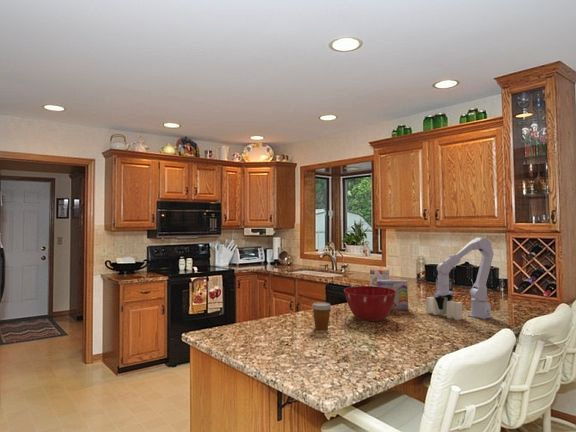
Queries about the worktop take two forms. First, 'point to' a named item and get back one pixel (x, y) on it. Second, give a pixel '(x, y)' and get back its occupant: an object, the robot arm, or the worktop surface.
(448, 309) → the domino
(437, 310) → the domino
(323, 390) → the worktop surface
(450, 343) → the worktop surface
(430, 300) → the domino
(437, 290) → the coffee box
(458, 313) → the domino
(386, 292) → the mixing bowl
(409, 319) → the worktop surface
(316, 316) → the disposable coffee cup
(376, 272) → the cracker box
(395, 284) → the cake pan box
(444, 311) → the domino
